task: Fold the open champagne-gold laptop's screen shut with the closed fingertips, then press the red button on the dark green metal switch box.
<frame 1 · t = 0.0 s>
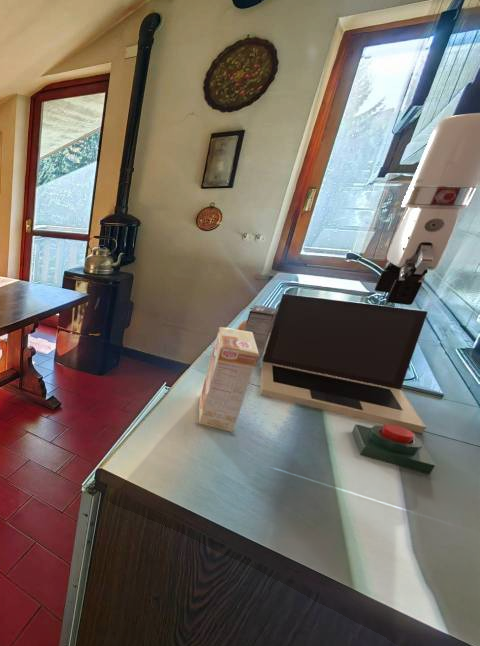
hand: (391, 297, 72), 32 cm above the counter, tool pointing down, fingers open, 9 cm apart
coffee box: (249, 358, 125), on the counter, touching laptop screen
laptop: (329, 395, 103), on the counter
coffeecake box: (214, 413, 94), on the counter
button: (397, 433, 79), point 4 cm above the counter, slide at 0.1 cm
canned tomato: (277, 342, 137), on the counter
egg: (243, 345, 135), on the counter
switch box: (387, 451, 81), on the counter
laptop screen: (338, 338, 109), point 12 cm above the counter, hinge at 110.0°, touching coffee box
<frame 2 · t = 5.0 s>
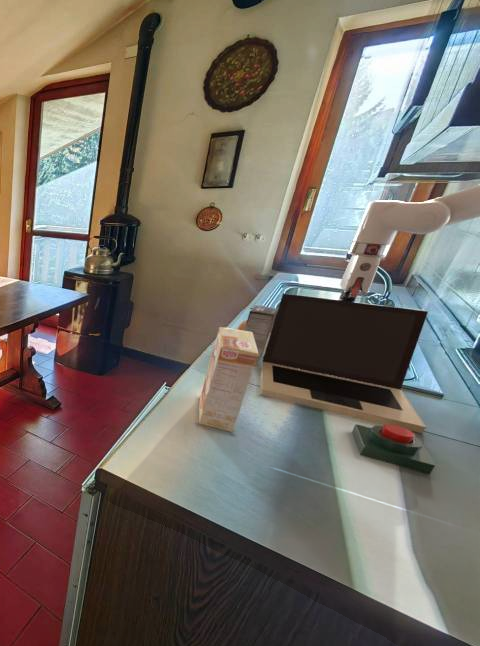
hand: (340, 314, 112), 17 cm above the counter, tool pointing down, fingers closed
coffee box: (249, 358, 125), on the counter
laptop screen: (338, 338, 109), point 12 cm above the counter, hinge at 109.4°, touching gripper
everything else where it was.
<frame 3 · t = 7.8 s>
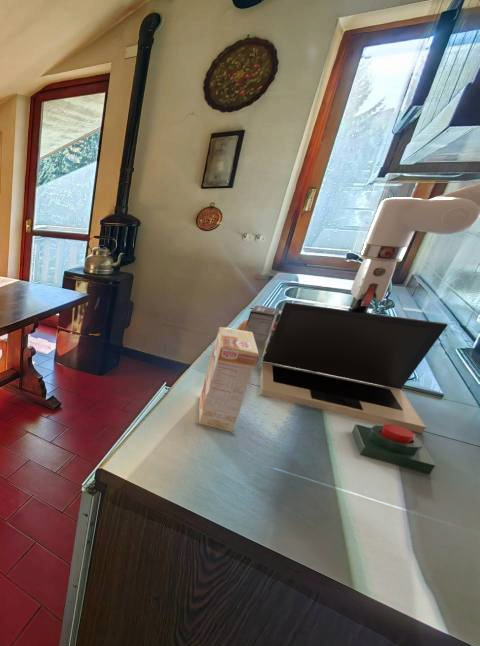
hand: (351, 324, 101), 18 cm above the counter, tool pointing down, fingers closed
laptop screen: (342, 345, 104), point 12 cm above the counter, hinge at 71.4°, touching gripper
everything else where it was.
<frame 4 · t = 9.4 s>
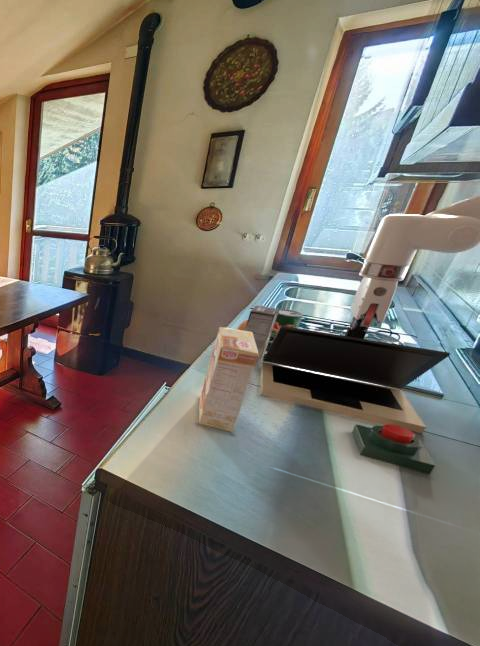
hand: (351, 344, 97), 15 cm above the counter, tool pointing down, fingers closed
laptop screen: (341, 357, 102), point 10 cm above the counter, hinge at 45.9°, touching gripper
everything else where it was.
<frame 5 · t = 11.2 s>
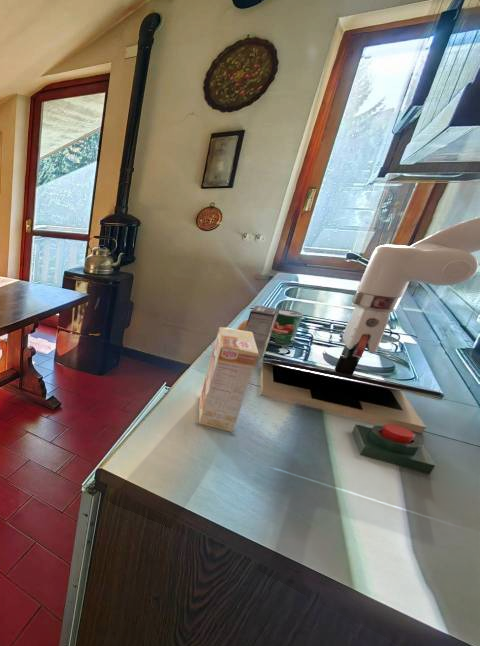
hand: (343, 372, 96), 8 cm above the counter, tool pointing down, fingers closed
laptop screen: (337, 374, 101), point 6 cm above the counter, hinge at 20.1°, touching gripper
everything else where it was.
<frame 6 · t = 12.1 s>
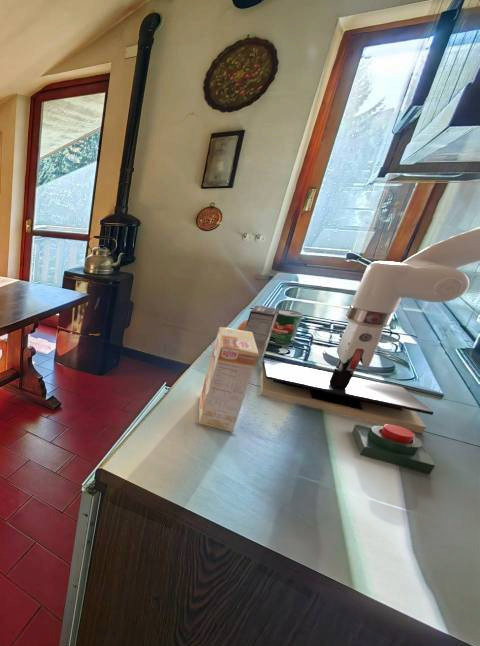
hand: (337, 385, 98), 5 cm above the counter, tool pointing down, fingers closed
laptop screen: (334, 382, 101), point 4 cm above the counter, hinge at 7.9°, touching gripper
everything else where it was.
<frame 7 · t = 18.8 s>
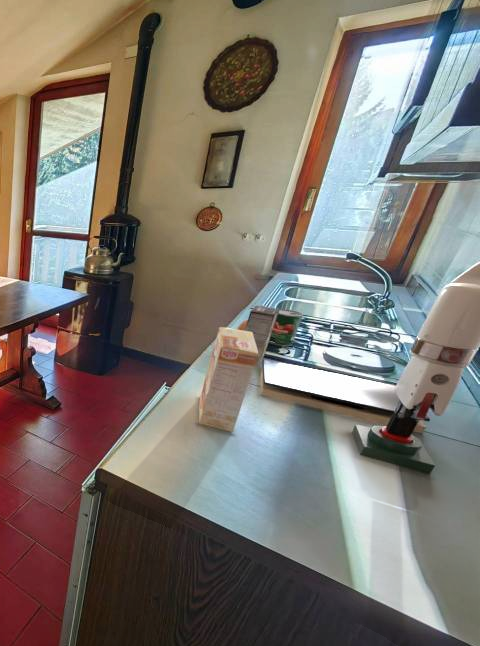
hand: (396, 433, 79), 5 cm above the counter, tool pointing down, fingers closed
button: (395, 437, 80), point 4 cm above the counter, slide at -0.7 cm, touching gripper
laptop screen: (333, 385, 102), point 3 cm above the counter, hinge at 3.4°, touching laptop
everything else where it was.
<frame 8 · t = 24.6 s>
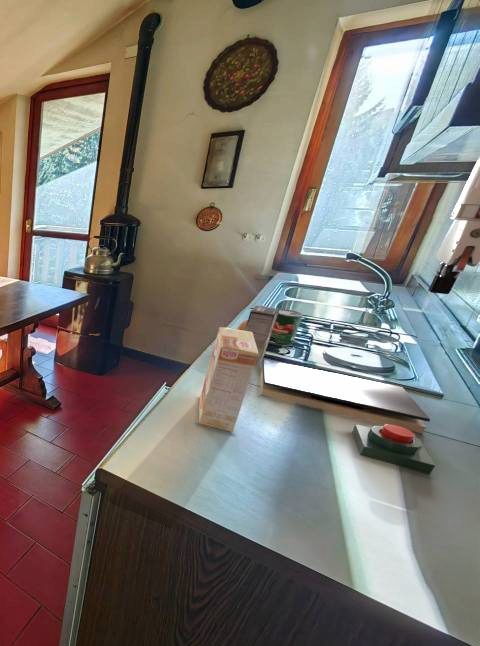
hand: (438, 292, 95), 27 cm above the counter, tool pointing down, fingers closed
button: (397, 433, 79), point 4 cm above the counter, slide at 0.1 cm
everything else where it was.
at the end: laptop screen at +3° (first picture: +110°); button pushed in 1.1 cm at the most during the clip, back to where it started at the end; button slide at 0.1 cm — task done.
